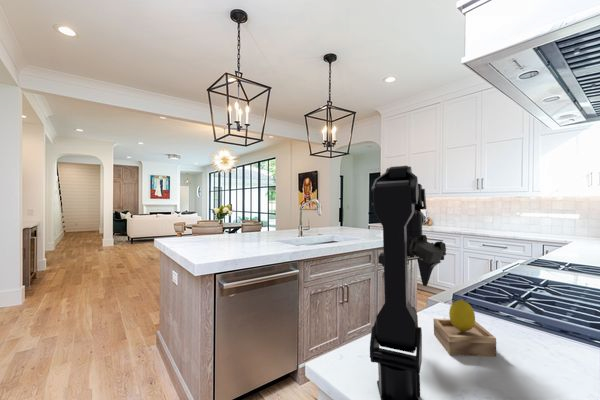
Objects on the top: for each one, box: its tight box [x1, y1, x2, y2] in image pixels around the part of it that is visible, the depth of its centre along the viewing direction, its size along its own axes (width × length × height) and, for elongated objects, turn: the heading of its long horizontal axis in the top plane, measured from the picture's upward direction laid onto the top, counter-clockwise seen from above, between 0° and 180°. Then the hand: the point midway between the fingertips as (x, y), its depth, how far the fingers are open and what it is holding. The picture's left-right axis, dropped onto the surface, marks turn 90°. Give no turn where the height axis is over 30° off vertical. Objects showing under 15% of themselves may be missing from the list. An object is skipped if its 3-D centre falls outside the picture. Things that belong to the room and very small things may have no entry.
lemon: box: [448, 299, 476, 333], centre depth 69 cm, size 6×6×8 cm
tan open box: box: [433, 318, 498, 358], centre depth 69 cm, size 10×10×4 cm
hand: (412, 288), depth 76 cm, fingers open, 9 cm apart
